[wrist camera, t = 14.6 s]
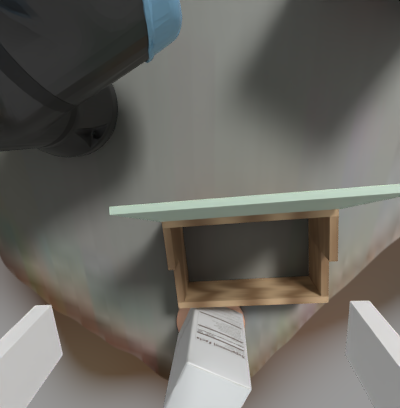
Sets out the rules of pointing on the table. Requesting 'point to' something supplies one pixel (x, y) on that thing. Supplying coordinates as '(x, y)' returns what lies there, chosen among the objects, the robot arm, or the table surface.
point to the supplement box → (209, 361)
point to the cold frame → (262, 287)
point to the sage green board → (258, 204)
